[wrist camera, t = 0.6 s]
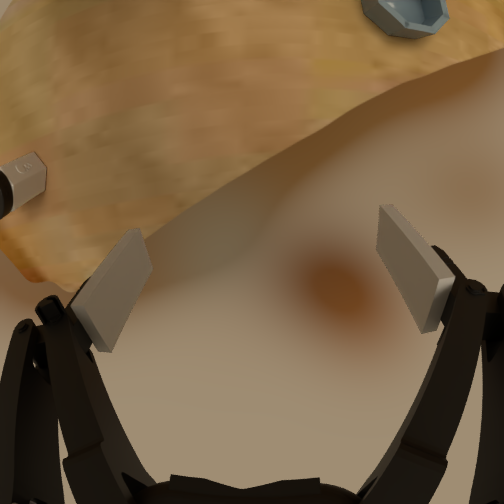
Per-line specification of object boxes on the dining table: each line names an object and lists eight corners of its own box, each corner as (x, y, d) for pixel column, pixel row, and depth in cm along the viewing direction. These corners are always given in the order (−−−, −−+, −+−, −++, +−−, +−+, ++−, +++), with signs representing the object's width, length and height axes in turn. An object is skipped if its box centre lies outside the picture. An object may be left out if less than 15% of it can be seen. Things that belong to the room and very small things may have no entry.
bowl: (353, -29, 23) (365, -44, 18) (419, -17, 22) (437, -27, 17) (367, 33, 28) (383, 24, 23) (432, 42, 27) (453, 38, 22)
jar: (54, 174, 40) (10, 200, 30) (37, 203, 43) (-2, 232, 33) (28, 142, 37) (-17, 162, 27) (13, 173, 40) (-28, 196, 30)
